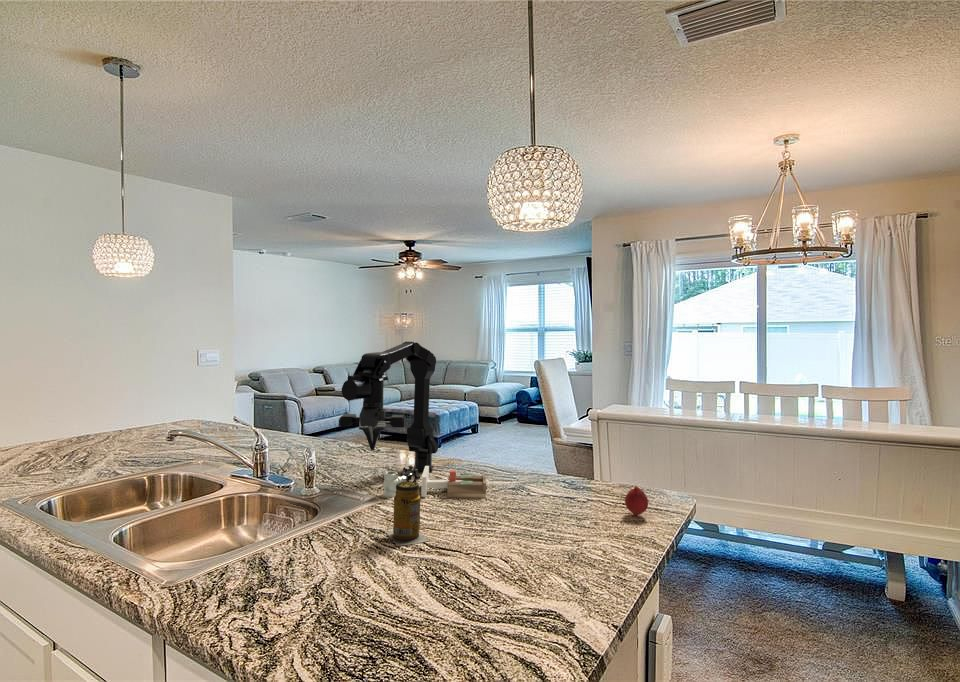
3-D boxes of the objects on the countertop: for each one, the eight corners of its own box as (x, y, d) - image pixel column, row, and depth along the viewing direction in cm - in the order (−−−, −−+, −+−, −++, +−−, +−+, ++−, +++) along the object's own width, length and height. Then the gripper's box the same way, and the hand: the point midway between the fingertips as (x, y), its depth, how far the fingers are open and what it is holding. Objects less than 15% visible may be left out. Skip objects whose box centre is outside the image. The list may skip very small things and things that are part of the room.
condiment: (416, 528, 123) (417, 478, 123) (428, 541, 115) (429, 488, 115) (386, 533, 120) (387, 481, 119) (396, 547, 112) (397, 492, 112)
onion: (651, 515, 134) (652, 485, 134) (641, 521, 130) (642, 490, 130) (630, 510, 138) (631, 480, 138) (620, 515, 134) (621, 485, 134)
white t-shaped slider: (424, 484, 156) (425, 465, 156) (462, 484, 157) (463, 465, 157) (421, 496, 144) (421, 476, 144) (462, 497, 145) (462, 477, 145)
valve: (395, 499, 143) (420, 488, 153) (395, 476, 143) (420, 466, 153) (376, 495, 146) (402, 484, 157) (377, 472, 146) (402, 463, 156)
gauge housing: (448, 486, 156) (448, 473, 156) (484, 486, 156) (484, 473, 156) (447, 497, 146) (447, 483, 146) (485, 497, 146) (486, 483, 146)
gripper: (333, 400, 141) (333, 456, 141) (402, 401, 142) (401, 457, 142) (343, 394, 152) (342, 447, 153) (406, 395, 153) (405, 448, 153)
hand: (372, 450), depth 150 cm, fingers closed
